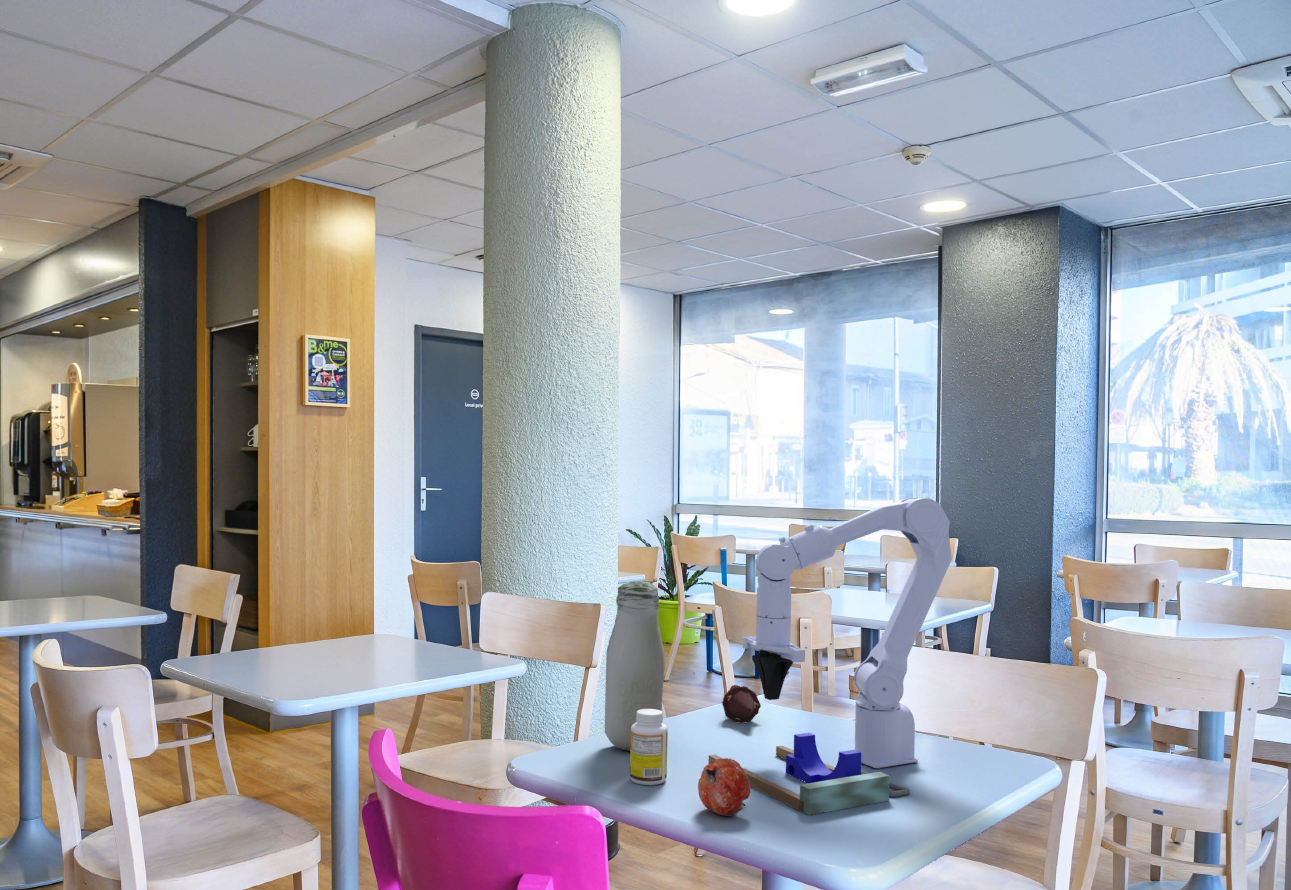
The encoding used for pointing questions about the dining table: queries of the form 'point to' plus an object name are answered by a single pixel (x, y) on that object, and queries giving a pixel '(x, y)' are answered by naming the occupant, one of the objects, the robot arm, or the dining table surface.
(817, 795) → the guide lane
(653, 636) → the glass bottle
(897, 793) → the cord loop
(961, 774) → the dining table surface
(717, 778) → the pomegranate
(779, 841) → the dining table surface
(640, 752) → the supplement bottle
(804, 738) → the cable clip
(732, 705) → the icecream
